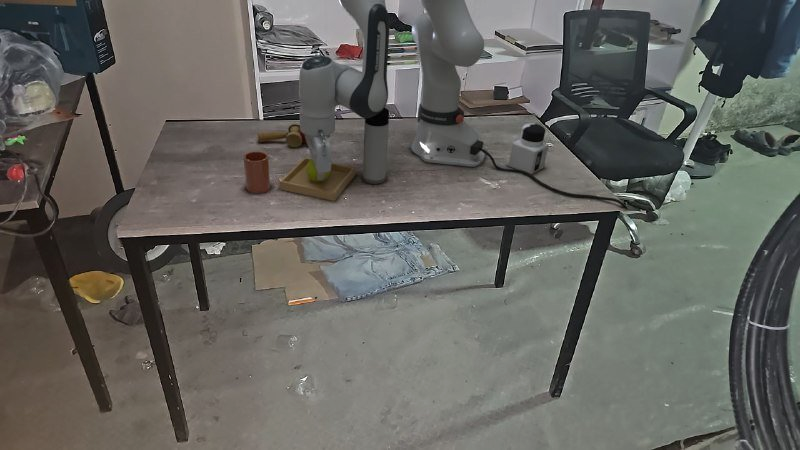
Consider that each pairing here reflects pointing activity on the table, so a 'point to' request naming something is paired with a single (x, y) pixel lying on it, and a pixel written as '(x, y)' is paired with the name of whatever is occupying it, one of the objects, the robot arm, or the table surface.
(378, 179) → the travel mug
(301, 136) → the kendama
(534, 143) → the container
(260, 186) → the cup
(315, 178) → the tennis ball
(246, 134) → the table surface
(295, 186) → the tray
